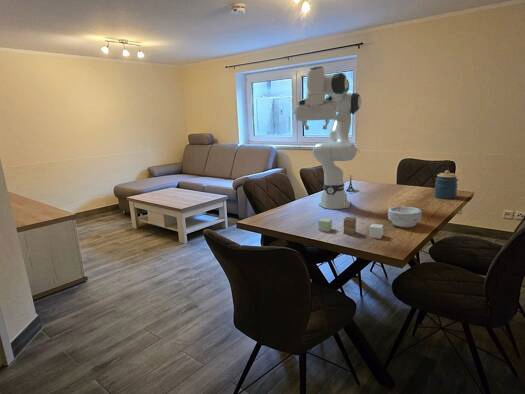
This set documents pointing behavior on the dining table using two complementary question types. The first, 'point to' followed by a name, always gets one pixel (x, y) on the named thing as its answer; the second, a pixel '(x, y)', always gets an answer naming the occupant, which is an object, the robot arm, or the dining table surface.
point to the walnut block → (349, 225)
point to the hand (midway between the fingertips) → (315, 129)
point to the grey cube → (376, 231)
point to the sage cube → (325, 224)
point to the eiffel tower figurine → (351, 188)
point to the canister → (446, 185)
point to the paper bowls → (404, 216)
